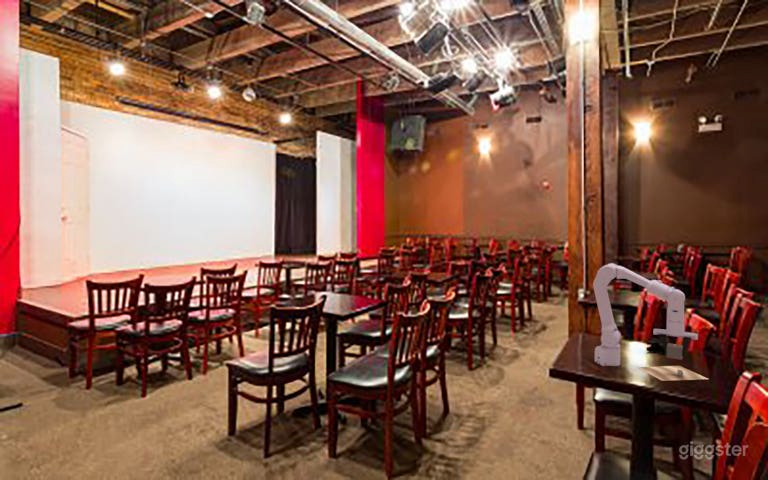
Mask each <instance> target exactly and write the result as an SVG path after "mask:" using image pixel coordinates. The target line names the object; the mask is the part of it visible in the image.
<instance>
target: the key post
mask: <svg viewBox="0 0 768 480" xmlns="http://www.w3.org/2000/svg"><path fill="white" fill-rule="evenodd" d="M677 375H678V377H682V378H683V371H682V370H678V369H677Z"/></svg>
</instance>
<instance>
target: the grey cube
mask: <svg viewBox="0 0 768 480" xmlns="http://www.w3.org/2000/svg"><path fill="white" fill-rule="evenodd" d="M670 343H671V342H668V344H667V356H666V358H668V359H675V360H681V361H682V360H683V356H682V351H683V344H675V343H672V344H670Z"/></svg>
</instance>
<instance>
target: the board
mask: <svg viewBox="0 0 768 480" xmlns="http://www.w3.org/2000/svg"><path fill="white" fill-rule="evenodd" d="M636 368H637V369H638V370H641V371H643V372H644V373H647V374H649V375H650V376H652V377H654V378H657V379H658V380H660V381H662V382H663V381H666V382H667V381H668V382H669V381H671V382H672V381H692V380H693V381H694V380H695V381H697V380H709V378H707V377H705V376H703V375H701V374H698V373H696V372H694V371H692V370H691V369H687V368H685V367H683V366H682V365H663V366H662V365H660V366H636ZM677 369H678V370H682V371H683V378H682V377H678V375H677Z"/></svg>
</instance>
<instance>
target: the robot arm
mask: <svg viewBox="0 0 768 480" xmlns="http://www.w3.org/2000/svg"><path fill="white" fill-rule="evenodd" d="M615 278H616V279H617V280H621V279H625V280H628V281H631V282H633V283H634V284H637V285H639V286H640V287H643V288H645V290H646V292H647V293H649V294H651V295H653V296H655V297H657V298H658V299H661V300H663V301H666V302H667V308H666V329H661V328H653V331H652V332H653V333H652V334H653V335H656V336H657V335H659V336H658V337H659V340H661V342H662V344H663V347H664V350H665V354H667V342H668V337H676V338H682V345H683V351H682V356H683V357H684V358H685V354H686V351H687V349H688V346H689V344H690V343H691V342H692V340H695V341H696V340H697V341H698V339H699V333H694V332H689V331H685V304H684V303H685V300H686V295H685V293H684V292H683V291H681V290H680V289H677V288H675V287H674V286H669V285H667V284H665V283H663V280H660V279H657V280H656V279H651V280H649V279H648V278H646V277H644V276H641V275H640V274H637V273H636V272H634V271H632V270H630V269H628V268H626V267H625V266H622V265H618V264H616V263H613V262H611V263H606V264H605V265H603V266H601V267H600V268H599V269H598V270H597V273H596V275H595V278H594V280H593V283H592V288H593V290H594V291H593V292H594V296H595V300H596V304H597V309H598V313H599V314H598V315H599V317H600V322H601V331H600V332H601V335H600V336H601V337H600V342H601V344H600V345H598V346H596V347H595V348H594V362H595V363H596V364H598V365H600V366H602V367H606V366H608V367H609V366H611V367H617V366H620V365H621V349H622V348H621V345H620V341H621V339H622V334H621V331H619V329H618V326H617V324H616V322H615V318H614V316H613V315H614V314H613V311H612V310H613V309H612V306H611V301H610V298H609V297H610V295H609V293H608V289H607V286H608V285H609V284H610V283H611V281H612V280H614V279H615ZM683 357H682V358H683Z"/></svg>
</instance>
